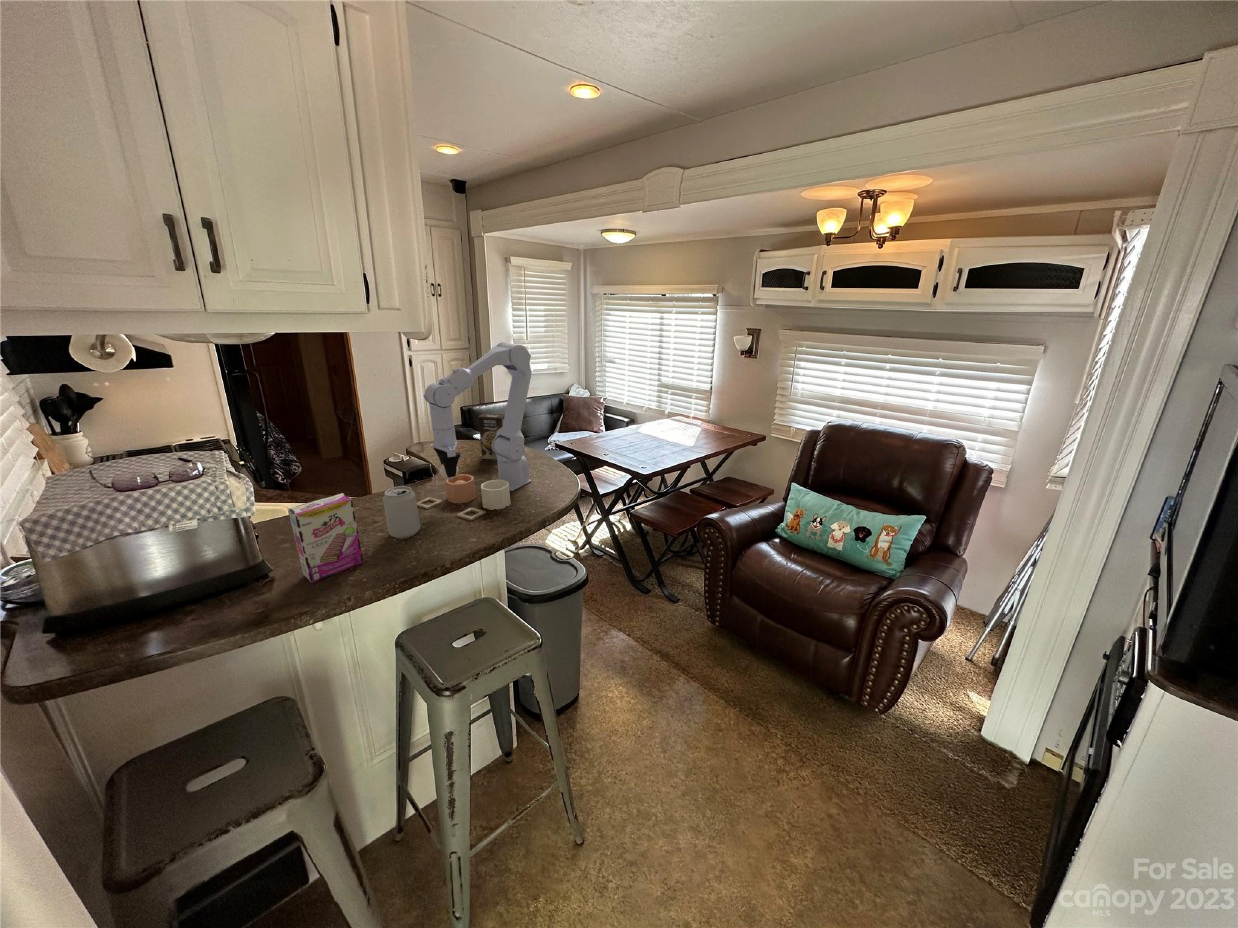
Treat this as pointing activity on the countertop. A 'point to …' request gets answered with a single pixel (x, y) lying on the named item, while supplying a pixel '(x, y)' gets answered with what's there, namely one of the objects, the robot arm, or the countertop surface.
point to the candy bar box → (326, 536)
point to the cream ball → (443, 472)
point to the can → (401, 512)
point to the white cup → (495, 494)
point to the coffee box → (489, 432)
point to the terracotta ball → (459, 482)
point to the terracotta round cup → (461, 489)
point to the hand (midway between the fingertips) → (449, 473)
